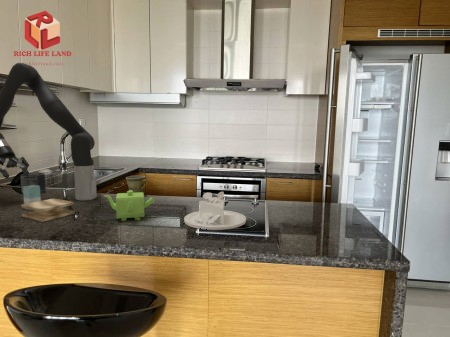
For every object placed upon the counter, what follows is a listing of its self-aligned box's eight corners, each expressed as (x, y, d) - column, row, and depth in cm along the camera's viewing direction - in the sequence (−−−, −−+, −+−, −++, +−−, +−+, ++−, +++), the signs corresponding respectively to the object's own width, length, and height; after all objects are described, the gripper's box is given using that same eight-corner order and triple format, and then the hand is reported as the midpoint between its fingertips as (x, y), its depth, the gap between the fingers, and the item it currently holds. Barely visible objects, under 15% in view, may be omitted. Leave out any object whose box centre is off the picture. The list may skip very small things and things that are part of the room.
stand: (54, 209, 146) (53, 198, 145) (74, 213, 139) (73, 202, 139) (22, 216, 134) (21, 204, 133) (42, 221, 127) (41, 209, 127)
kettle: (103, 219, 131) (102, 192, 129) (129, 211, 143) (128, 186, 142) (132, 225, 124) (131, 196, 123) (156, 216, 136) (155, 190, 135)
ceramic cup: (122, 196, 174) (121, 177, 173) (135, 192, 183) (135, 175, 182) (141, 198, 168) (140, 179, 167) (153, 195, 177) (153, 177, 176)
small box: (46, 192, 183) (45, 173, 182) (39, 194, 177) (37, 175, 176) (29, 191, 184) (27, 173, 183) (20, 193, 178) (19, 174, 177)
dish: (178, 215, 139) (177, 189, 137) (232, 210, 148) (232, 186, 146) (193, 233, 116) (193, 202, 114) (256, 226, 125) (257, 197, 123)
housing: (35, 206, 152) (33, 184, 150) (41, 207, 149) (39, 185, 148) (24, 208, 147) (22, 186, 146) (30, 209, 145) (29, 187, 144)
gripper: (-12, 145, 148) (3, 172, 144) (20, 144, 160) (36, 169, 156) (-17, 156, 151) (-2, 183, 147) (15, 154, 163) (30, 179, 159)
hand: (17, 176), depth 151 cm, fingers open, 8 cm apart
